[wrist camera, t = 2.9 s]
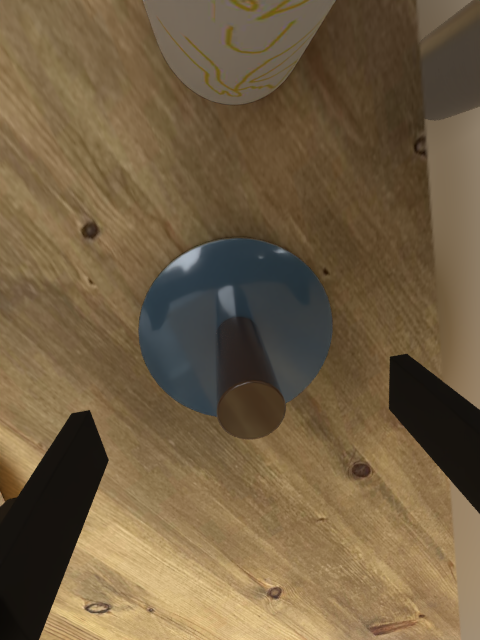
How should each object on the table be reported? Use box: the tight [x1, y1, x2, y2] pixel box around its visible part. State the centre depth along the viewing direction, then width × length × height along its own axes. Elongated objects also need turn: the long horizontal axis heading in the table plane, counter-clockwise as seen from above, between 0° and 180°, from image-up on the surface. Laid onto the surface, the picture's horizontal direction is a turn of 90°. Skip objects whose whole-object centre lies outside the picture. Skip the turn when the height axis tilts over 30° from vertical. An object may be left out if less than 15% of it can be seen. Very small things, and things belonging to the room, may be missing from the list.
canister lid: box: [138, 237, 333, 439], centre depth 18 cm, size 13×13×9 cm
